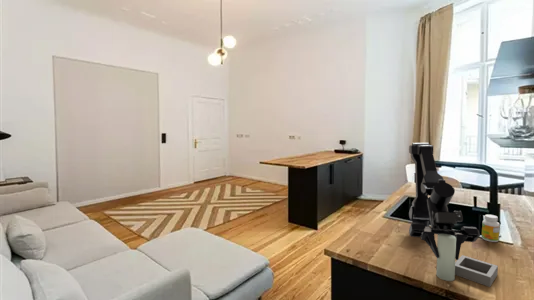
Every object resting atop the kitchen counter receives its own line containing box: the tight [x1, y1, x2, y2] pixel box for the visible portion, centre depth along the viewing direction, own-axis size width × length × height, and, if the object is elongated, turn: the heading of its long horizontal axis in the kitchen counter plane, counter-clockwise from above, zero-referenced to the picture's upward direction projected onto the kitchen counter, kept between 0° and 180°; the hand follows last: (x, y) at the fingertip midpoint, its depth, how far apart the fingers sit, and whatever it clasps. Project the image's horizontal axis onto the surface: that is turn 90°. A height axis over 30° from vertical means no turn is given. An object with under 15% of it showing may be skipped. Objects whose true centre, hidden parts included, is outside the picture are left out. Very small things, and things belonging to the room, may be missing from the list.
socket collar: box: [455, 254, 499, 288], centre depth 86 cm, size 9×9×3 cm
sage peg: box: [435, 234, 456, 282], centre depth 85 cm, size 5×5×13 cm
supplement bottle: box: [481, 214, 501, 243], centre depth 109 cm, size 5×5×10 cm
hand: (447, 258), depth 83 cm, fingers closed on sage peg, 5 cm apart
